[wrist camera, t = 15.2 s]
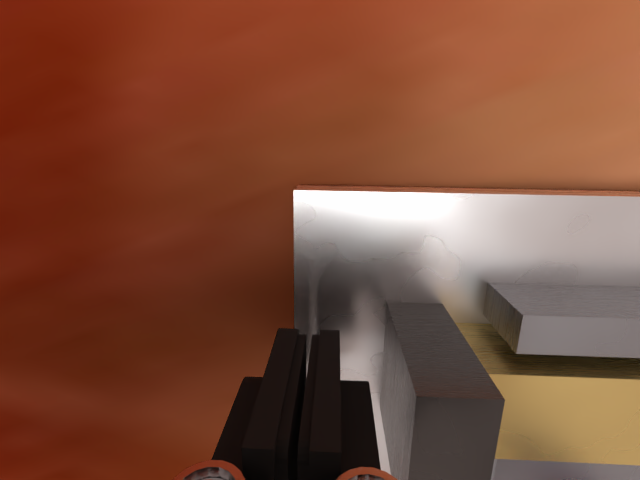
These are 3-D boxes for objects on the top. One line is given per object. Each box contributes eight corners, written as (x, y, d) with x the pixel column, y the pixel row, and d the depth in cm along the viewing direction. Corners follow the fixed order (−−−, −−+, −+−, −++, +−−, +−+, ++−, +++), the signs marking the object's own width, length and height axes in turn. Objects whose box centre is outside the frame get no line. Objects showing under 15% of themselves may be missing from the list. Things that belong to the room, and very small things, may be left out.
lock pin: (379, 405, 11) (402, 540, 8) (386, 301, 10) (416, 396, 7) (760, 421, 11) (991, 573, 7) (804, 314, 10) (1098, 423, 6)
